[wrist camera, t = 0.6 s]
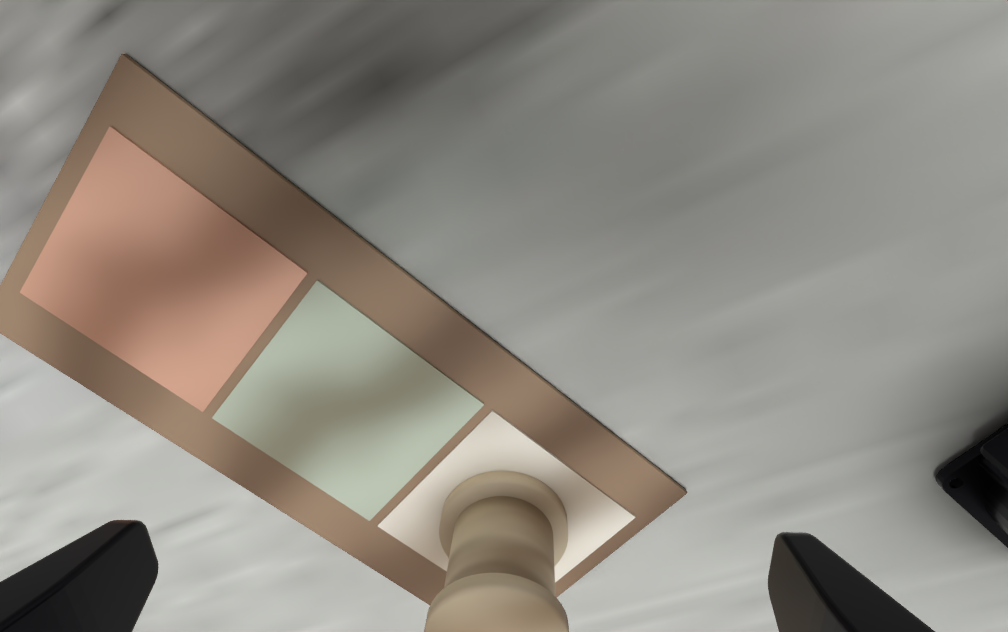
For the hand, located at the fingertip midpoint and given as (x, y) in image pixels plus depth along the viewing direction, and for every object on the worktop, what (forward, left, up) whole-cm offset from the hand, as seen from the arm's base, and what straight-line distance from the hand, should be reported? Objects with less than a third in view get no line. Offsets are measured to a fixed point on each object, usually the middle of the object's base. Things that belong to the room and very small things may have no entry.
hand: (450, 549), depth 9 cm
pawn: (-7, +9, -13) cm, 17 cm away
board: (+1, +9, -14) cm, 16 cm away
